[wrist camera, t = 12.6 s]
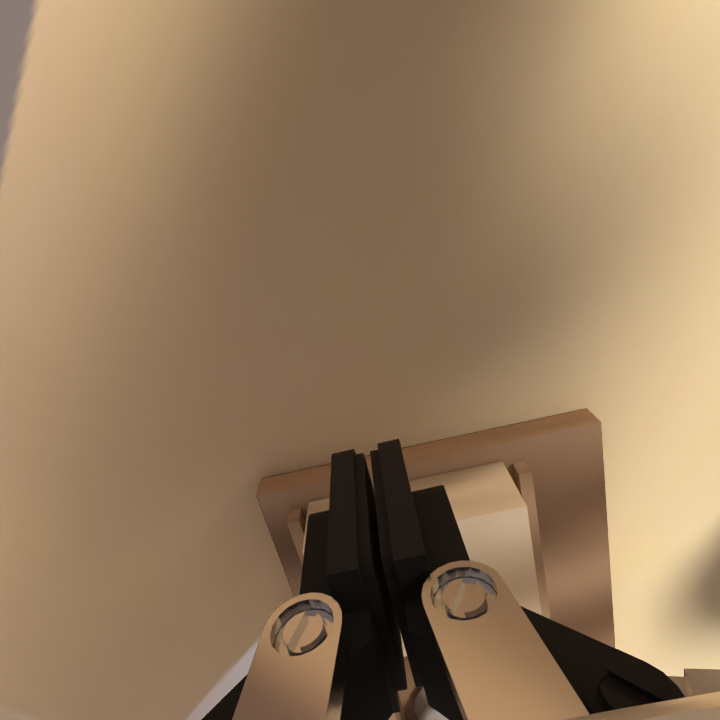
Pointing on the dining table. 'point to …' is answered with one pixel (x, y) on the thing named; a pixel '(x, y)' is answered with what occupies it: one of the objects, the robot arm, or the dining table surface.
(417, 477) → the board
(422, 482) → the cream rectangular block
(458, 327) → the dining table surface
